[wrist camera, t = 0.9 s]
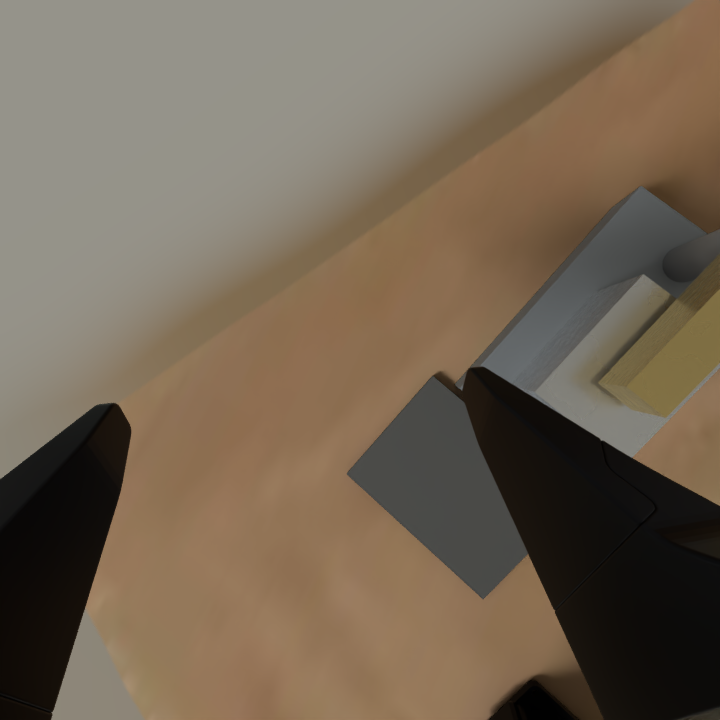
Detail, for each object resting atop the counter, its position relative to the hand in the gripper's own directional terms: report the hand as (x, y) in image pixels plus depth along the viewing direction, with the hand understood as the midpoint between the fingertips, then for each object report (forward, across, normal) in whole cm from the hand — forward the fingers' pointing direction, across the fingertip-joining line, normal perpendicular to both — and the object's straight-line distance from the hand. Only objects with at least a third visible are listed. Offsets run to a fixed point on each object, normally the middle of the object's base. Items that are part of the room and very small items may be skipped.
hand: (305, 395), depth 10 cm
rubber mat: (+6, -9, +15) cm, 19 cm away
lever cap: (+7, -16, +6) cm, 18 cm away
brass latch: (+4, -17, +1) cm, 17 cm away
